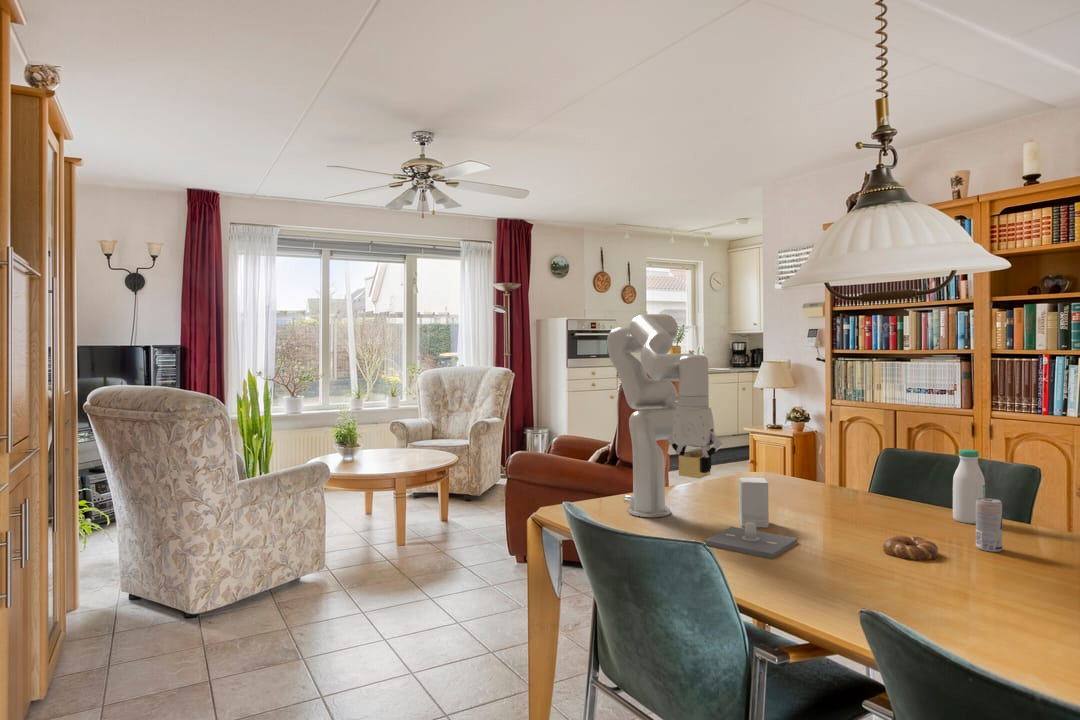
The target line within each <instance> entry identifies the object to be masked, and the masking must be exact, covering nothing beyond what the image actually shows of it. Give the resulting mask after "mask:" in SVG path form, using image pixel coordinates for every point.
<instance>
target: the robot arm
mask: <svg viewBox="0 0 1080 720" xmlns="http://www.w3.org/2000/svg"><path fill="white" fill-rule="evenodd" d="M628 325H629V326H620V327H616V328H614V329H612V330H611V331H610V332H609V333H608V335H607V340H606V345H607V346H606V347H607V349H606V350H607V352H608V355H609V357H608V358H609V359H610V361H611V363H612V365H613V367H614V368H615V370H616V371H617V374H618V376H619V379H620V383H621V387H622V390H623V393H624V397H625V401H626V403H627V405H628V406H629V408H631V409H632V410H635V411H634V412H632V413H631V415H630V416H629V419H628V427H629V429H628V430H629V434H630V438H631V446H632V447H631V448H632V484H633V486H632V493H633V494H632V495H629V494H628V495H627V494H626V495H625V496H624V498H623V503H626V504H629V505H630V506H629V507H628V508H627V509H628V513H629V514H630V515H632V516H635V517H639V516H640V517H641V518H660V517H666V516H668V515H670V514H671V508H670V507H668V506H667V505H666V491H665V490H666V488H665V487H666V485H665V484H666V483H665V482H666V481H665V478H666V477H665V475H666V474H665V471H666V470H665V453H664V451H663V449H662V448H661V447H660V445H659V444H658V443H657V441H661V440H663V441H664V440H667V442H668V443H669V445H670V446H671V447H672V448H673V450H674V451H675V453H676V455H677V465H678V466H679V455H682V454H685V453H686V452H687V451H686V450H687V447H693V448H694V447H695V448H701V449H702V452H703V454H704V457H703V458H702V472H703V473H707V472H710V473H711V469H712V457H713V456H714V454H716V453H717V452H718V450H720V448H722V447H723V444H724V443H723V442H722V440H720V438H719V437H718V436H717V435H716V434H715V422H714V416H713V412H712V408H711V407H710V406H709V403H710V402H709V400H710V399H709V398H710V397H709V396H710V394H709V392H710V391H709V387H710V386H709V385H710V384H709V359H708V357H707V356H706V355H702V354H693V353H670V351H671V350H672V348H673V341H674V340H675V339H676V338H677V335H678V331H679V327H678V323H677V321H676V319H675V318H674V317H673V316H672V315H670V314H668V313H667V314H666V313H665V314H664V313H661V314H659V313H656V314H653V313H652V314H650V313H645V314H639V315H637V316H635V317H633V318H632V320H631V321H630V322H629V324H628ZM633 353H636V354H638V353H639V354H640V359H638V358H637V357H635V356H634V355H633ZM673 382H679V383H678V390H677V389H676V388H677V387H676V385H674V383H673ZM677 391H678V392H679V393H678V392H677ZM712 445H713V446H712Z"/></svg>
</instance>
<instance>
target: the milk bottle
mask: <svg viewBox="0 0 1080 720" xmlns="http://www.w3.org/2000/svg"><path fill="white" fill-rule="evenodd" d="M958 455H959V456H958V457H959V463H958V466H957V468H956V470H955V472H954V474H953V479H952V519H953V520H954V521H957V522H960V523H963V524H974V525H976V501H977V498H986V480H985V476H984V474H983V472H982V470H981V468H980V465H979V463H978V462H979V460H978V459H979V456H980V454H979V451H978V450H977V449H966V448H965V449H964V448H963V449H959V450H958Z"/></svg>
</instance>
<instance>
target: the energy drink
mask: <svg viewBox="0 0 1080 720" xmlns="http://www.w3.org/2000/svg"><path fill="white" fill-rule="evenodd" d="M975 547H976V548H977V549H978V550H980V549H981V550H980V551H983V550H984V551H983V552H988V551H989V552H988V553H999V552H1002V551H1003V503H1002V501H1001V500H1000V499H996V498H991V497H985V498H977V501H976V524H975Z"/></svg>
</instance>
